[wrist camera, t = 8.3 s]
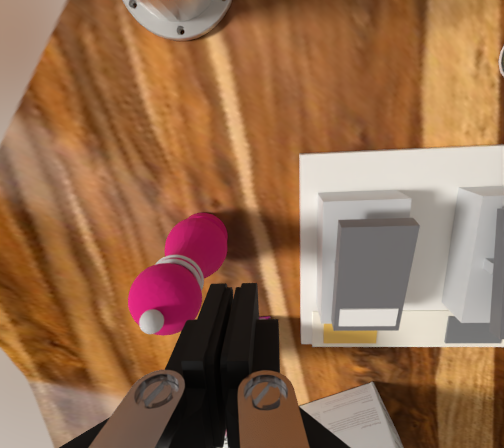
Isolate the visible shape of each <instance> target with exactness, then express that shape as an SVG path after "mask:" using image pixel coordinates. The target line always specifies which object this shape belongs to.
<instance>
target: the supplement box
mask: <svg viewBox="0 0 504 448" xmlns="http://www.w3.org/2000/svg"><path fill="white" fill-rule="evenodd" d="M299 407H301V408H302V409H303V410H304V411H306V412H307V413H308V414H309V415H311V416H312V417H313V418H314V419H316V420H317V421H318V422H319V423H321V424H322V425H323V426H324V427H326V428H327V429H328V430H329V431H331V432H332V433H333V434H334V435H336V436H337V437H338V438H339V439H341V440H342V441H343V442H344V443H346V444H347V445H348V446H349V447H351V448H403V445H402V443H401V440H400V437H399V435H398V433H397V431H396V429H395V426H394V424H393V422H392V420H391V418H390V416H389V414H388V412H387V410H386V408H385V406H384V404H383V401H382V399H381V397H380V395H379V393H378V391H377V389H376V387H375V385H374V383H373V382H371V383H369V384H365V385H362V386H359V387H356V388H353V389H350V390H347V391H344V392H341V393H338V394H335V395H332V396H329V397H326V398H323V399H320V400H316V401H313V402H310V403H307V404H304V405H301V406H299Z"/></svg>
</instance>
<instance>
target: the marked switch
mask: <svg viewBox="0 0 504 448" xmlns="http://www.w3.org/2000/svg"><path fill="white" fill-rule="evenodd" d="M419 228H420V225H419V224H418V223H417V222H416V220H415V219H414V218H384V219H351V220H338V230H337V244H336V259H335V273H334V287H333V301H332V315H331V322H332V326H333V331H398V330H399V326H400V321H401V316H402V311H403V306H404V301H405V296H406V291H407V286H408V282H409V277H410V272H411V267H412V262H413V257H414V252H415V247H416V242H417V238H418V233H419Z"/></svg>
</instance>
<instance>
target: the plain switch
mask: <svg viewBox="0 0 504 448" xmlns="http://www.w3.org/2000/svg"><path fill="white" fill-rule="evenodd" d="M489 332H490V333H492V334H493V335H495V336H496V337H497V338H499V339H504V208H499V209H497V219H496V235H495V250H494V266H493V282H492V297H491V313H490V329H489Z"/></svg>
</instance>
